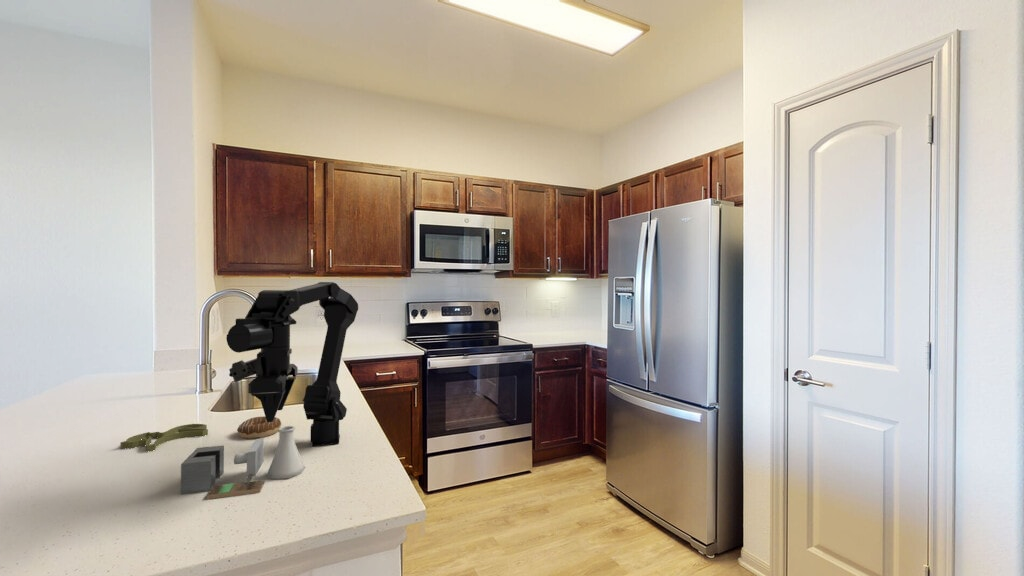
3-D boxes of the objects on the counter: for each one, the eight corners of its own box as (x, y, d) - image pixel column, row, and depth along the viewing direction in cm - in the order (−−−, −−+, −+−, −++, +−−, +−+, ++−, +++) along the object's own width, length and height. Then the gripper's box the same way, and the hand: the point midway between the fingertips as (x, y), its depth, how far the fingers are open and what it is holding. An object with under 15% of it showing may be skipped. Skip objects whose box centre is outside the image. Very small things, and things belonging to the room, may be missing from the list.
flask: (289, 481, 91) (289, 434, 91) (259, 478, 92) (259, 432, 92) (311, 467, 98) (311, 424, 98) (283, 464, 100) (284, 421, 100)
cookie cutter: (138, 456, 105) (138, 448, 105) (114, 448, 110) (114, 440, 110) (216, 434, 121) (216, 427, 121) (192, 428, 126) (192, 421, 126)
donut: (289, 429, 125) (289, 415, 125) (262, 441, 115) (262, 426, 115) (257, 426, 127) (257, 413, 127) (227, 439, 117) (227, 424, 117)
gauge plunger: (263, 461, 97) (263, 438, 97) (250, 484, 86) (251, 458, 86) (239, 464, 96) (240, 440, 96) (224, 487, 84) (224, 461, 84)
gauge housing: (272, 466, 98) (272, 440, 98) (260, 492, 86) (260, 462, 86) (196, 475, 93) (197, 448, 93) (172, 504, 81) (172, 472, 81)
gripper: (246, 342, 103) (246, 407, 103) (219, 353, 85) (218, 432, 85) (298, 340, 106) (297, 403, 106) (282, 351, 88) (281, 427, 88)
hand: (275, 415), depth 96 cm, fingers open, 9 cm apart
